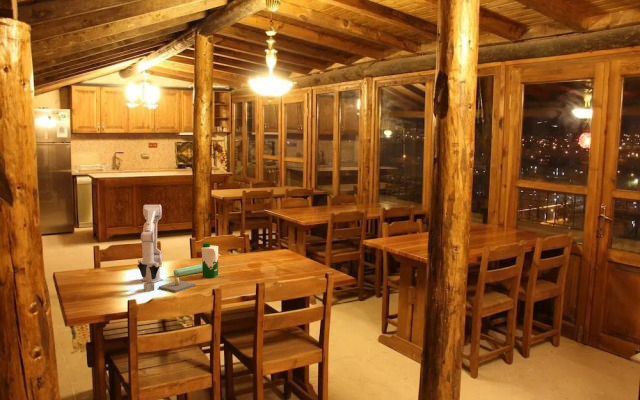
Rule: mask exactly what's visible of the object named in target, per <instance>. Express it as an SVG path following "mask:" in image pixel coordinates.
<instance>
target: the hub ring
mask: <svg viewBox="0 0 640 400" xmlns="http://www.w3.org/2000/svg"><path fill="white" fill-rule="evenodd" d="M143 291H144V292H153V291H155V282H152V281H148V282H147V281H144V282H143Z"/></svg>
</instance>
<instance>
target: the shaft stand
mask: <svg viewBox="0 0 640 400" xmlns="http://www.w3.org/2000/svg"><path fill="white" fill-rule="evenodd" d="M193 287H196V283H194V282H189V281H185V280H181V279H180V277H174V281H171V282H169V283H165V284H163V285H158V290H162V291H163V290H164V291H166V292H167V291H168V292H171V293H178V292H181V291H185V290H187V289H190V288H193Z"/></svg>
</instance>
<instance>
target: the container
mask: <svg viewBox="0 0 640 400" xmlns="http://www.w3.org/2000/svg"><path fill="white" fill-rule="evenodd" d="M199 273H202V263H199V264H194V265H190V266H185V267H180V268H175V269H174V270H173V276H174V278H181V277H185V276H188V275H195V274H199Z"/></svg>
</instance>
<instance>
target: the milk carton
mask: <svg viewBox="0 0 640 400" xmlns="http://www.w3.org/2000/svg"><path fill="white" fill-rule="evenodd" d="M200 250H201V264H202V272H201V273H202V274H201V275H202V278H207V279H215V278H216V277H217V276H219V245H211V243H210V242H202V247H201V249H200Z"/></svg>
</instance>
